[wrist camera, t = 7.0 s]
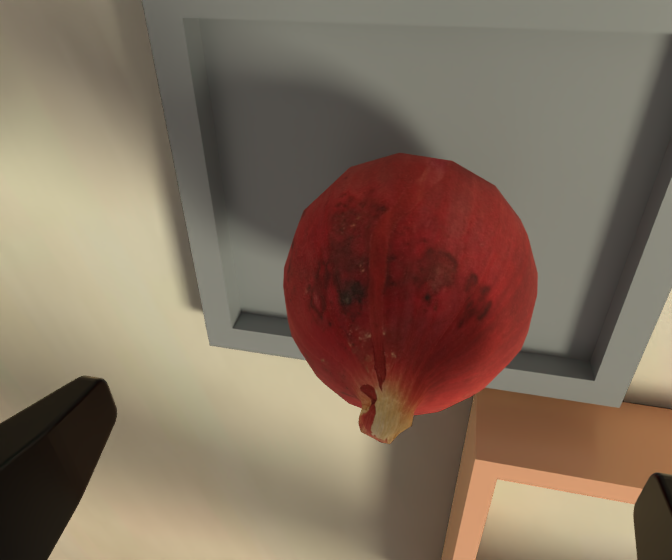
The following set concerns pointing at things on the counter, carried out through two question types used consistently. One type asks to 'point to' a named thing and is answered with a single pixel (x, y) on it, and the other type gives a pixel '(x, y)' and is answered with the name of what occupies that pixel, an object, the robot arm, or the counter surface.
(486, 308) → the onion
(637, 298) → the tray
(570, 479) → the terracotta frame
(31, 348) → the counter surface
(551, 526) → the counter surface
